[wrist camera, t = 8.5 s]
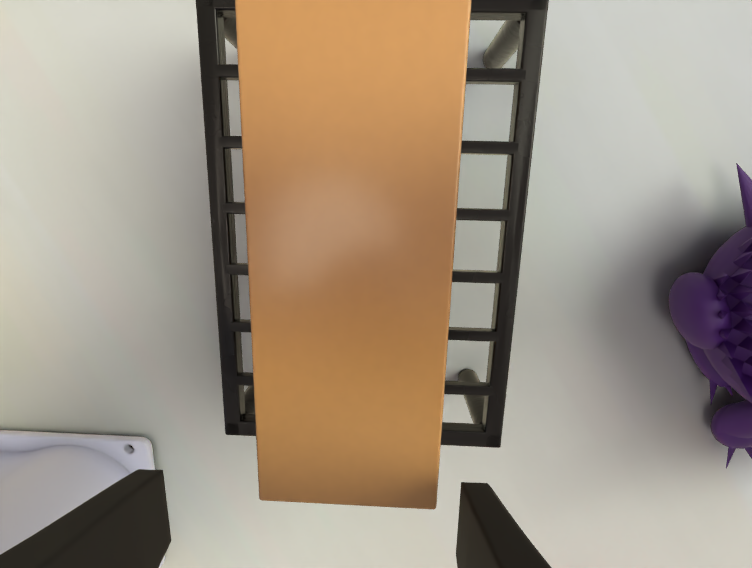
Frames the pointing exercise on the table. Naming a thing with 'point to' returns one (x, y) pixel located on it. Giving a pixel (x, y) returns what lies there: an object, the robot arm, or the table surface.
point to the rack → (484, 399)
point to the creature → (723, 326)
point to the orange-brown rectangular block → (350, 240)
